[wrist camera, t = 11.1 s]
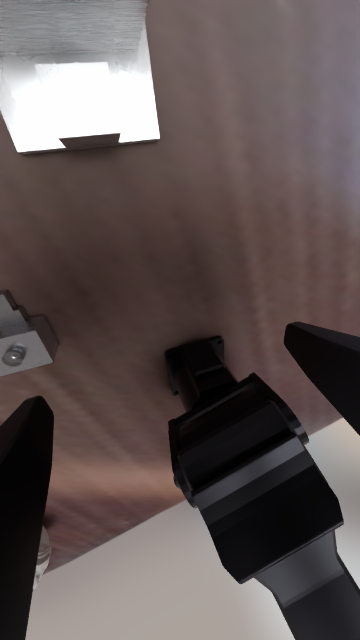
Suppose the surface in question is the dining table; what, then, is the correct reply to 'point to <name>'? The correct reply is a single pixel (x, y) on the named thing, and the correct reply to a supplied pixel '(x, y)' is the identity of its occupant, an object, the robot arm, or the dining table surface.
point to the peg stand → (78, 99)
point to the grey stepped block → (23, 338)
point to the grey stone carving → (42, 556)
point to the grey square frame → (71, 25)
